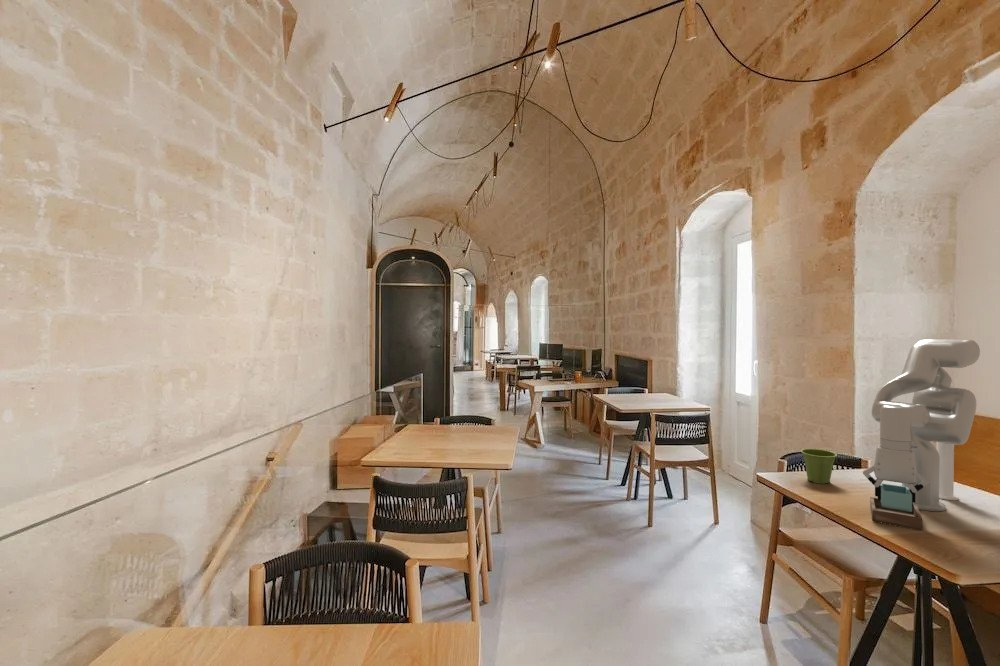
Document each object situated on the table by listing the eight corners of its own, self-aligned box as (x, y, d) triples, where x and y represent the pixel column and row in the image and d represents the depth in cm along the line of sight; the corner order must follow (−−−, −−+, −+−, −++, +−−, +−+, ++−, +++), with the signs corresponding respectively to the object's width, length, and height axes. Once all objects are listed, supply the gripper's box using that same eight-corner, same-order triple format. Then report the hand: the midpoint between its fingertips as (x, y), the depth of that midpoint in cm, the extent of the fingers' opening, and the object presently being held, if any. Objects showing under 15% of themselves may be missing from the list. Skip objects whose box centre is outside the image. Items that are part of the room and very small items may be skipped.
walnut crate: (870, 507, 160) (870, 496, 160) (916, 515, 154) (916, 504, 154) (872, 521, 149) (872, 510, 148) (922, 530, 142) (922, 518, 142)
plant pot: (794, 476, 194) (794, 448, 194) (823, 476, 194) (823, 448, 194) (813, 486, 182) (813, 456, 182) (844, 486, 182) (844, 456, 182)
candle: (930, 492, 175) (931, 423, 175) (957, 496, 171) (958, 426, 171) (931, 497, 170) (932, 426, 170) (959, 502, 165) (960, 429, 165)
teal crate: (879, 498, 156) (879, 482, 156) (907, 503, 152) (907, 487, 152) (882, 506, 148) (882, 490, 148) (911, 511, 144) (912, 495, 144)
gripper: (930, 446, 149) (929, 504, 149) (860, 439, 159) (859, 492, 159) (934, 451, 143) (933, 511, 143) (860, 443, 153) (860, 499, 153)
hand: (894, 501), depth 151 cm, fingers closed on teal crate, 7 cm apart
